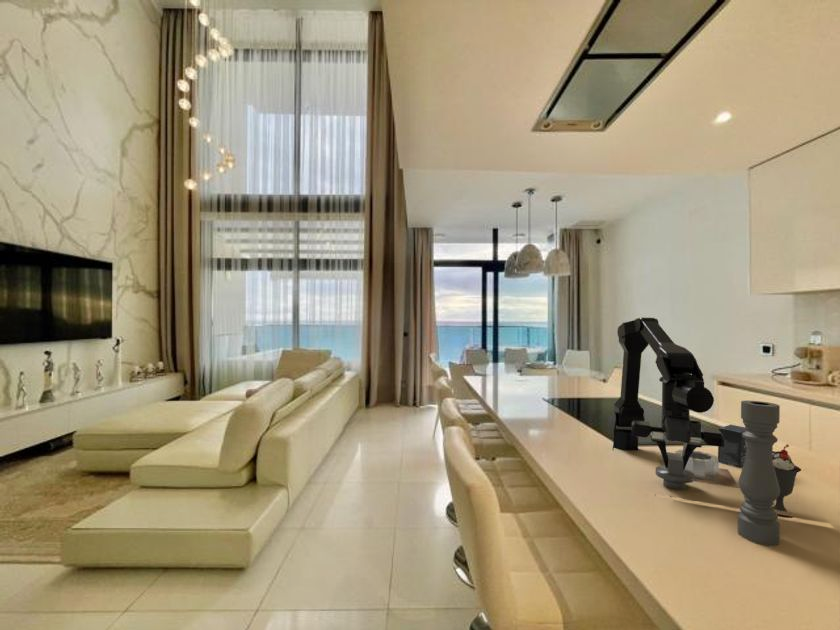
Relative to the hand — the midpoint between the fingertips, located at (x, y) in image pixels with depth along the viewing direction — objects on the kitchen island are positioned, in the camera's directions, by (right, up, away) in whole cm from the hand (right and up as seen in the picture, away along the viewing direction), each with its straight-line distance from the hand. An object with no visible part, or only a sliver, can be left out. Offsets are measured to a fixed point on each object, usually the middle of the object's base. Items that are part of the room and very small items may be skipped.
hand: (674, 468), depth 103 cm
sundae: (+15, -5, -12) cm, 20 cm away
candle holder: (+2, -5, -22) cm, 23 cm away
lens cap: (0, -5, 0) cm, 5 cm away
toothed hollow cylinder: (+11, -4, +9) cm, 15 cm away
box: (+27, -6, +18) cm, 33 cm away
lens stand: (+11, -5, +9) cm, 15 cm away
